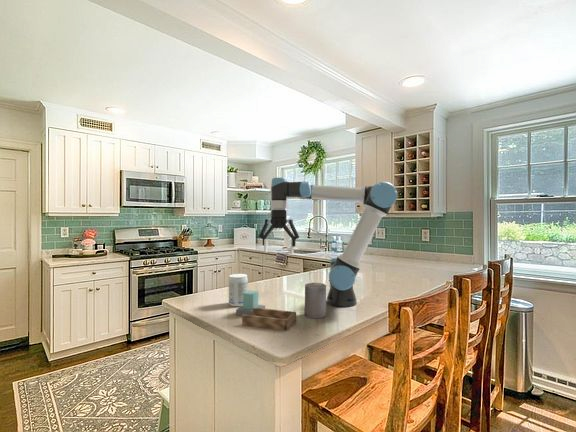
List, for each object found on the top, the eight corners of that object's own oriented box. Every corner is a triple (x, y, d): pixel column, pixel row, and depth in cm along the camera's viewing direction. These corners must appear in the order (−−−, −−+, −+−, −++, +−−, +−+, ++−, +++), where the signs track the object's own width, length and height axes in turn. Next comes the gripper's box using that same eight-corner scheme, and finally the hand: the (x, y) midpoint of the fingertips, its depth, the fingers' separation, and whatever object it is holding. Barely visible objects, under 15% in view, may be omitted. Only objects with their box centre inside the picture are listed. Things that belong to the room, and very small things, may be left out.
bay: (296, 321, 133) (296, 311, 133) (287, 330, 122) (287, 320, 122) (253, 316, 139) (253, 307, 139) (242, 324, 129) (242, 315, 129)
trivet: (265, 310, 148) (265, 305, 148) (256, 317, 138) (256, 311, 138) (246, 308, 151) (246, 303, 151) (236, 314, 141) (236, 309, 141)
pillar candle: (304, 311, 147) (304, 279, 146) (325, 311, 146) (325, 279, 146) (305, 318, 137) (305, 284, 137) (327, 319, 137) (327, 284, 136)
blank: (258, 306, 147) (258, 291, 147) (253, 309, 141) (253, 294, 141) (248, 305, 148) (248, 290, 148) (243, 308, 142) (243, 293, 142)
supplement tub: (248, 301, 163) (248, 273, 163) (247, 307, 154) (247, 277, 154) (230, 301, 163) (230, 273, 163) (227, 307, 153) (227, 277, 153)
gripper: (305, 209, 153) (305, 252, 153) (258, 209, 161) (258, 250, 161) (301, 209, 146) (301, 254, 146) (252, 209, 154) (252, 252, 154)
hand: (278, 252), depth 154 cm, fingers open, 13 cm apart
